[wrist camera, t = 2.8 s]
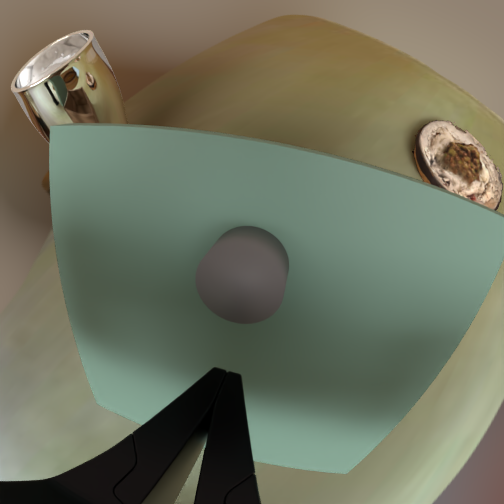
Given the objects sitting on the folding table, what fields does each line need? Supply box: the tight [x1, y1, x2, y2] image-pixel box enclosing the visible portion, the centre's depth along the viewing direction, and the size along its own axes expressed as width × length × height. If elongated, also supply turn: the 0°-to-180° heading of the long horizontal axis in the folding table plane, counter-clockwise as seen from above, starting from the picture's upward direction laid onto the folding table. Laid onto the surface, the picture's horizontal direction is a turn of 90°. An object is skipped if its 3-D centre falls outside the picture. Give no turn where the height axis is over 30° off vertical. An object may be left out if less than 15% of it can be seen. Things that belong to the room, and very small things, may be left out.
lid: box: [49, 123, 504, 474], centre depth 9 cm, size 14×14×2 cm
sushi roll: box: [412, 120, 503, 211], centre depth 24 cm, size 15×15×4 cm
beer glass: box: [11, 30, 128, 144], centre depth 19 cm, size 7×7×15 cm
